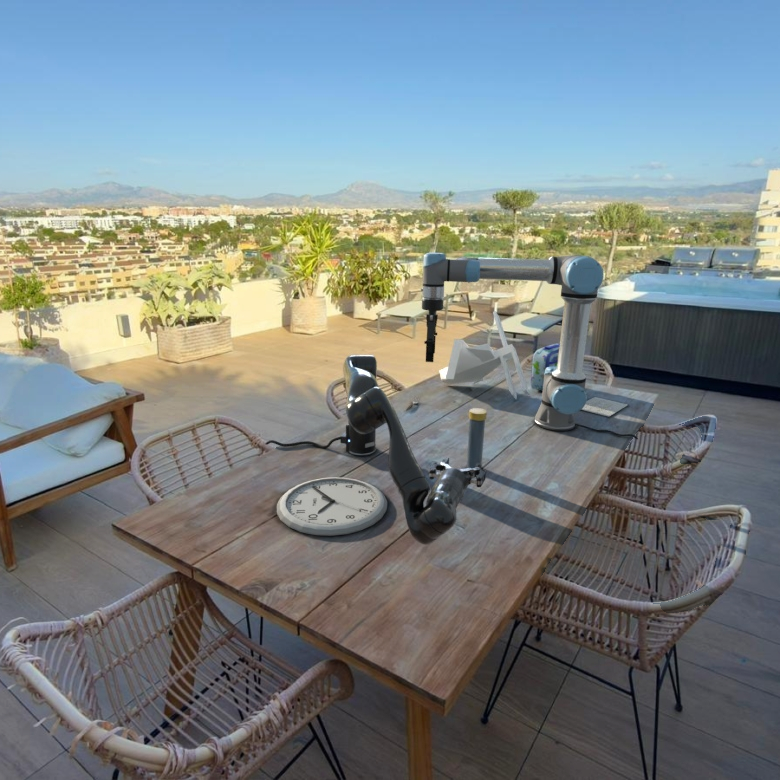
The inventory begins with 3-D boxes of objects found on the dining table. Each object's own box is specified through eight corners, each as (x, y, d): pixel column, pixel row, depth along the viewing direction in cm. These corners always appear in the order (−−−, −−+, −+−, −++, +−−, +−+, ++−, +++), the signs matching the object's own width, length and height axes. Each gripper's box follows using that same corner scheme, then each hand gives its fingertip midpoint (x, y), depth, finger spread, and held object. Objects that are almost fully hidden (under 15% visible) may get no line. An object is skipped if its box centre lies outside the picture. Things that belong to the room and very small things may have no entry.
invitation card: (608, 416, 214) (573, 407, 224) (608, 416, 214) (573, 408, 224) (628, 404, 229) (594, 396, 238) (628, 405, 229) (594, 397, 238)
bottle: (472, 473, 163) (476, 415, 157) (463, 467, 167) (467, 411, 161) (484, 470, 165) (488, 413, 159) (475, 464, 169) (479, 409, 163)
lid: (475, 421, 157) (476, 414, 157) (465, 416, 162) (465, 409, 161) (489, 419, 160) (490, 412, 159) (479, 413, 164) (479, 407, 164)
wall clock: (392, 527, 129) (268, 531, 127) (391, 533, 130) (269, 537, 127) (383, 473, 158) (282, 475, 155) (383, 478, 158) (282, 480, 156)
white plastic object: (461, 429, 252) (437, 405, 227) (444, 352, 274) (420, 323, 250) (535, 404, 240) (518, 377, 215) (510, 326, 262) (492, 293, 237)
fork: (403, 411, 216) (403, 406, 215) (414, 400, 230) (414, 395, 230) (409, 412, 215) (409, 407, 215) (420, 400, 229) (420, 396, 229)
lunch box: (547, 395, 239) (552, 351, 233) (526, 390, 247) (530, 347, 240) (574, 384, 257) (579, 343, 251) (554, 380, 264) (558, 339, 258)
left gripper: (479, 479, 125) (489, 454, 140) (422, 470, 130) (438, 446, 145) (477, 507, 128) (487, 479, 142) (421, 497, 132) (437, 471, 147)
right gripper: (424, 293, 195) (422, 349, 202) (419, 302, 172) (417, 365, 178) (444, 294, 195) (441, 350, 201) (442, 303, 171) (439, 366, 177)
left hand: (462, 463), depth 143 cm, fingers open, 8 cm apart
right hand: (430, 357), depth 190 cm, fingers open, 13 cm apart
